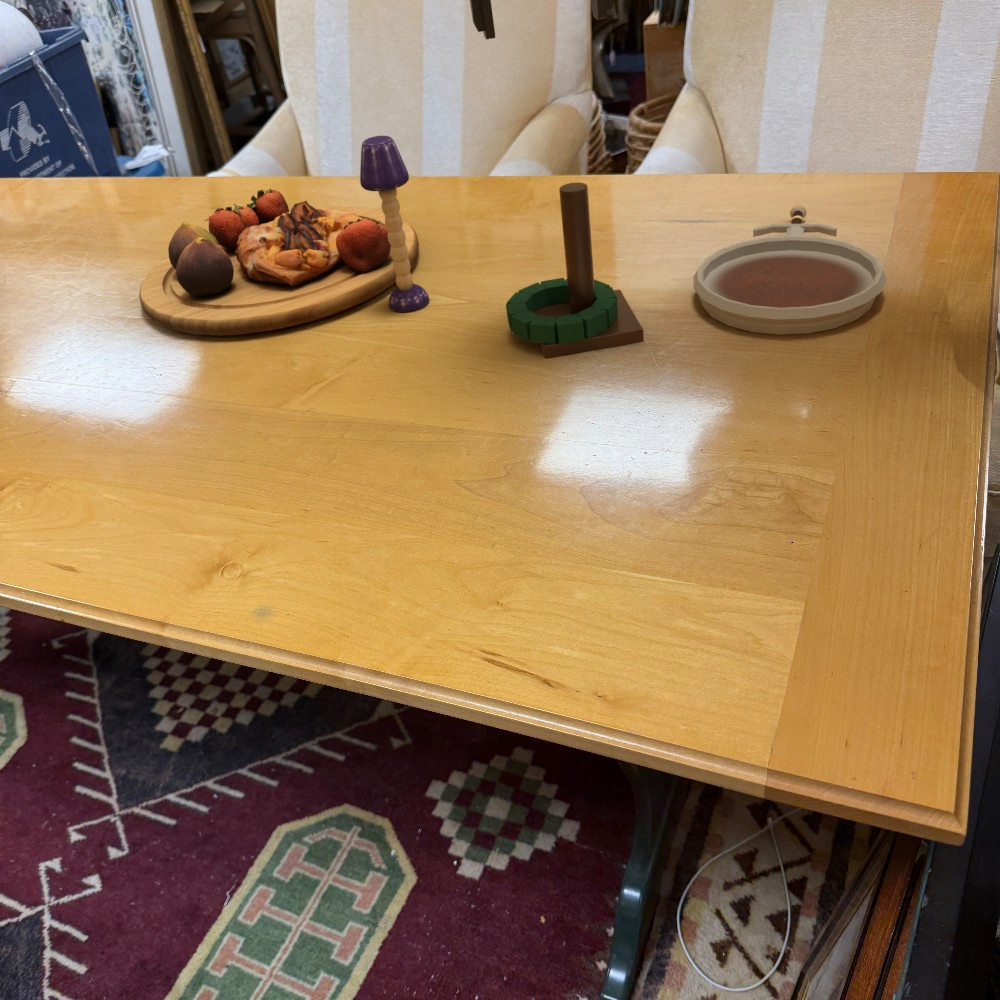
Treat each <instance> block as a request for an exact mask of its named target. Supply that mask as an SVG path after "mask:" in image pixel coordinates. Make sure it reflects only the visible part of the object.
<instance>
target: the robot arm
mask: <svg viewBox="0 0 1000 1000" xmlns="http://www.w3.org/2000/svg"><path fill="white" fill-rule="evenodd" d="M615 1H616V0H591V10H592V16H593V18H594V19H596V20H597V21H599V20H604V19H607V18H608V10H611V9H613V8H614V5H615ZM469 3H470V5H469V6H470V10H471V11H470V12H471V17H472V23H473V25H474V27H475V29H476V31H477V32H478V33H482V32H483V36H484V37H483V38H485V40H486V41H487V40H492V39H496V31H495V22H494V14H493V7H492V6H493V5H492V0H469Z"/></svg>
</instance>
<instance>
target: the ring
mask: <svg viewBox="0 0 1000 1000" xmlns="http://www.w3.org/2000/svg"><path fill="white" fill-rule="evenodd" d="M594 286H595V300H596V301H595V302H594V304H593V305H592V306H591V307H589V308H587V309H585V310H583V311H581V312H579V313H576V314H571V315H565V316H559V317H552V316H539V315H537V314H535V313H533V312H534V311H536V310H539V309H541V308H543V307H545V306H548V305H552V304H558V303H564V302H567V303H569V294H568V283H567V278H565V277H558V278H554V279H547V280H541V281H540V283H539V282H535V283H532V284H530V285H528V286H526V287H522V288H520V289H519V290H518V291H516V292H514V294H513V295H512V296H511V297H510V298H509V299H508V300H507V301H506V304H505V310H506V316H507V323H508V326H509V331H510V333H512V334H513V335H515V336H516V337H518V338H520V339H522V340H524V341H526V342H529V341H530V343H538V344H540V343H548V344H555V343H556V342H557V340H558V342H559V344H562V343H568V342H574V341H580V340H584V337H586V338H591V337H593V336H595V335H597V334H599V333H601V332H603V331H605V330H607V329H608V328H607V327H610V326H611V325H612V324H613V322H614V321H615V319H616V318H617V316H618V315H617V314H618V307H617V296H616V294H615V292H614V290H615V289H613V287H612V286H611V285H610V284H608V283H605V282H602V281H601V280H598V279H596V278H594Z"/></svg>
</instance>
